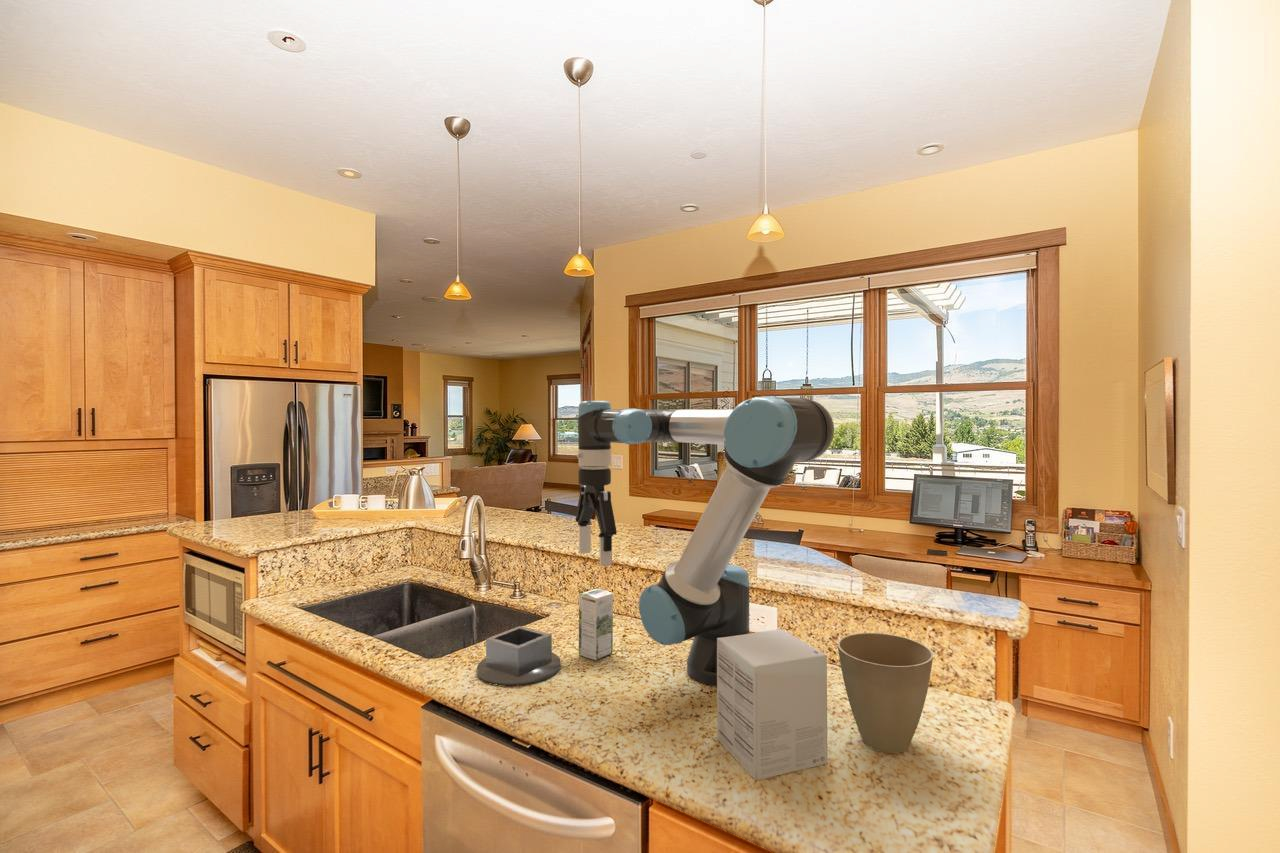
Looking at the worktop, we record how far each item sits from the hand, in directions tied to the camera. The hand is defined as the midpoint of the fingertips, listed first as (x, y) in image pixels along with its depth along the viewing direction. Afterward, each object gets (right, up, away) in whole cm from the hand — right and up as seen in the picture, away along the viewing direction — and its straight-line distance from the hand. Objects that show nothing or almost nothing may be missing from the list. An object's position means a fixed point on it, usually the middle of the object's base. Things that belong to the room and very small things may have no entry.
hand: (594, 559), depth 141 cm
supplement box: (+32, -23, -41) cm, 57 cm away
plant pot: (+52, -23, -39) cm, 68 cm away
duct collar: (-16, -22, -8) cm, 29 cm away
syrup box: (0, -22, 0) cm, 22 cm away
